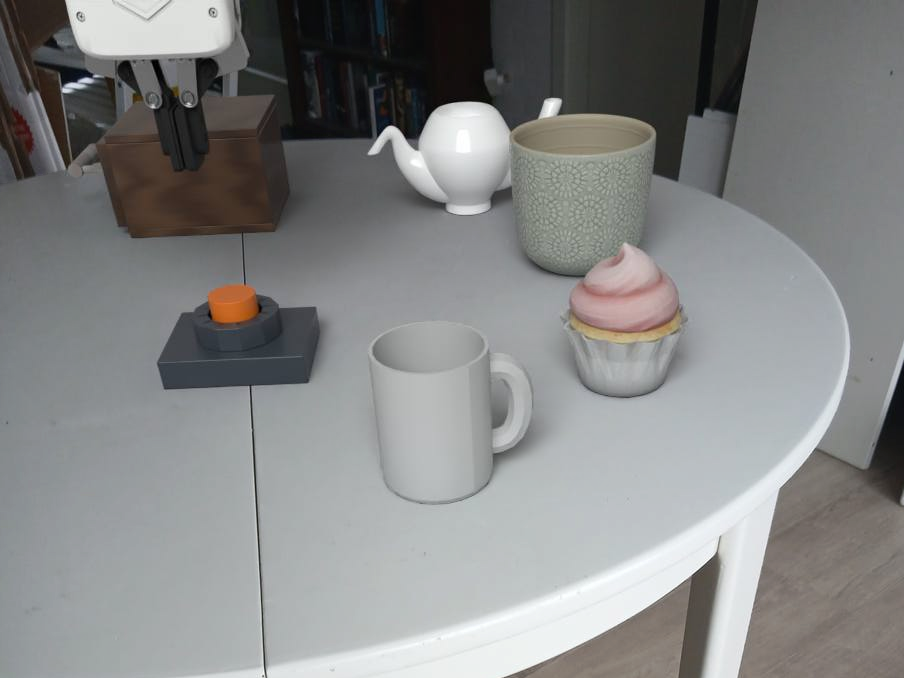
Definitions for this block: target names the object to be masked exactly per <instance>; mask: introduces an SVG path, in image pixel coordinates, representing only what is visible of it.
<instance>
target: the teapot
mask: <svg viewBox="0 0 904 678" xmlns="http://www.w3.org/2000/svg"><path fill="white" fill-rule="evenodd" d="M562 104H563V100H562V99H561V98H559V97H550V98H546V99H544V100H543V104H542V107H541V110H540V113H539V115H538V117H537V119H541V118H545V117H551V116H558V115H559V112H560V110H561V109H562V108H561V107H562ZM511 132H512V130H511V129H510V128H509V126H508V124H507V122H506V121H505V119H504V117H503V115H501V113H500V111H499V110H498V109H497V108H495V106H493V105H491V104H488V103H485V102H481V101H458V102H452V103H447V104H443V105H440V106H438V107H436V108H435V109H434V110H433V111H432V112H431V113H430V115H429V116H428V118H427V120H426V122H425V124H424V126H423V129H422V131H421V132H420V135H419V137H418V141H417V149H414V148H413V147H412V146H411V145H410V143H408V141H407V139H406V137H405V136H404V134H403V133H402V131H401V130H400V129H399V128H398V127H396V126H394V125H388V126H386V127H385V128H384V129H383V131H382V132H381V133H380V134H379V136H378V137H377V139H376V140H375V141H374V143H373V145H372V146H371V147H370V149H369V150H368V152H367V153H366V154H367V155H368V156H373V155H377V154H380V153H381V152H382V150H383V148H384V146H385V145H386V143H387V142H388V141H390V142H391V146H392V151H393V155H394V156H393V157H394V159H395V163H396V165H397V167H398V169H399V171H400V172H401V174H402V175H403V177H404V178H405V179H406V181H407V182H408V183H409V185H410V186H411V187H412V188H414V190H415V191H416V192H417V193H419V194H421V195H422V196H423V197H426V198H427V199H429V200H431V201H434V202H437V203H441V204H445V210H446V212H448V213H451V214H453V215H457V216H475V215H479V214H483V213H486V212H488V211H490V209H491V208H492V202H491V198H492V196H493V195H494V194H495V192H499V191H503V190H507V189H509V188H511V187H512V185H511V173H510V156H509V135H510V133H511Z"/></svg>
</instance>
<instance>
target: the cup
mask: <svg viewBox="0 0 904 678" xmlns="http://www.w3.org/2000/svg"><path fill="white" fill-rule="evenodd" d="M489 342H490V341H489V339H488V337H487V335H485V334H484V332H482V331H481V330H479V329H478V328H476V327H473V326H471V325H468V324H465V323H460V322H455V321H449V320H425V321H423V320H422V321H416V322H409V323H404V324H401V325H397V326H395V327H392V328H389V329H387V330H385V331H383V332H381V333H379V334H378V335H377V336H376V337H375V338H373V339H372V340H371V342H370V343H369V345H368V347H367V356H368V357H367V358H368V366H369V375H370V382H371V383H370V384H371V390H372V400H373V406H374V407H373V408H374V415H375V416H374V417H375V424H376V431H377V440H378V449H379V456H380V466H381V471H382V477H383V480H384V481H385V483H386V485H387V487H389V489H390V490H391V491H392V492H394V493H395V494H396V495H397V496H398V497H401V498H403V499H404V500H406V501H410V502H413V503H418V504H426V505H443V504H449V503H450V504H451V503H454V502H459V501H463V500H465V499H467V498H470V497H472V496H474V495H475V494H477V493H479V492H480V491H481V490H482V489H483V488H484V487H485V485H486V484H488V482H489V481H490V479H491V478H492V474H493V471H494V454H498V453H503V452H505V451H507V450H509V449H511V448H514V447H515V446H516V445H517V444H519V442H520V441H521V440H522V439H523V438H524V436H525V434H526V432H527V430H528V428H529V426H530V423H531V419H532V415H533V410H534V388H533V383H532V379H531V376H530V374H529V371H527V368H526V366H525V365H524V364H523V363H522V362H521V361H520V360H519V359H517V358H516V357H514V356H513V355H512V354H511V355H510V354H506V353H502V352H490V343H489ZM496 379H501V380H502V382H503V384H504V386H505V388H506V391H507V397H508V409H507V415H506V417H505V420H504V421H503V422H502V424H500V425H498V426H496V427H493V419H492V417H493V415H492V393H491V392H492V391H491V390H492V389H491V388H492V387H491V380H496Z"/></svg>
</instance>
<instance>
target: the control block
mask: <svg viewBox="0 0 904 678" xmlns="http://www.w3.org/2000/svg"><path fill="white" fill-rule="evenodd" d="M256 297H257V302H258V307H259V314H258V315H256V316H255V317H253V318H251V319H248V320H244V321H241V322H229V323H221V322H217V321H213V319H212V315H211V311H210V307H209V302H208V300H207V301H205V302H204V303H202V304H200V305H199V306H196V307H195V308H194V311H185V312H181V313H180V316H179V317H178V319H177V322H176V324H175V325H174V328H173V329H172V331H171V334H170V336H169V337H168V340H167V341H166V343H165V345H164V347H163V349H162V351H161V353H160V354H159V357H158V359H157V361H156V365H157V369H158V372H159V376H160V380H161V383H162V386H163V390H172V389H195V388H218V387H219V388H220V387H239V386H240V387H241V386H266V385H286V384H307V383H308V382H309V379H310V375H311V369H312V366H313V362H314V358H315V354H316V349H317V345H318V341H319V337H320V333H321V329H320V328H321V327H320V323H319V316H318V315H319V314H318V310H317V306H297V307H296V306H295V307H280V305H279V304H278V303H277V302H276V300H274V299H273V298H272V297H271V296H267V295H263V294H257V293H256Z"/></svg>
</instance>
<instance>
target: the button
mask: <svg viewBox="0 0 904 678" xmlns="http://www.w3.org/2000/svg"><path fill="white" fill-rule="evenodd" d="M256 294H257V292H256V289H255V288H254V287H253V286H251V285H246V284H228V285H223V286H219V287H217V288H214V289H212V290H211V291H210V292H209V293H208V294H207V301H208V302H209V307H210V311H211V315H212V319H213V321H217V322H221V323H229V322H241V321H244V320H248V319H251V318H253V317H255V316H256V315H258V314H259V307H258V302H257V297H256Z"/></svg>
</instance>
